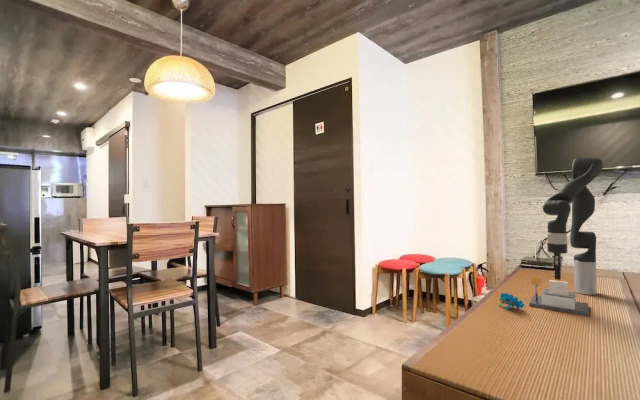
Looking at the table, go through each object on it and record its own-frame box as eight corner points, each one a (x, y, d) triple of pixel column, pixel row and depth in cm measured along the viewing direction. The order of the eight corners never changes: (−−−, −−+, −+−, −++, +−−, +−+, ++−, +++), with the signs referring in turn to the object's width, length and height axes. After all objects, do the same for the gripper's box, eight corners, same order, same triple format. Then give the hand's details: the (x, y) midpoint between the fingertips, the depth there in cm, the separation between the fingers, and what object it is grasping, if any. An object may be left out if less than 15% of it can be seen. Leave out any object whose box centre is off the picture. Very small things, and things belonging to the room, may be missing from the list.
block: (550, 300, 151) (549, 279, 151) (568, 303, 146) (568, 282, 146) (549, 302, 149) (549, 280, 149) (568, 305, 144) (567, 283, 145)
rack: (533, 298, 161) (533, 273, 161) (588, 306, 147) (587, 279, 148) (529, 306, 148) (529, 279, 148) (588, 316, 134) (588, 286, 134)
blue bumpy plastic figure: (529, 307, 140) (515, 292, 139) (524, 318, 138) (510, 303, 137) (508, 303, 151) (495, 290, 150) (502, 314, 149) (489, 300, 148)
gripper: (548, 240, 156) (549, 275, 155) (546, 243, 146) (546, 280, 145) (567, 241, 151) (568, 278, 151) (566, 244, 141) (567, 283, 140)
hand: (557, 279), depth 148 cm, fingers closed
